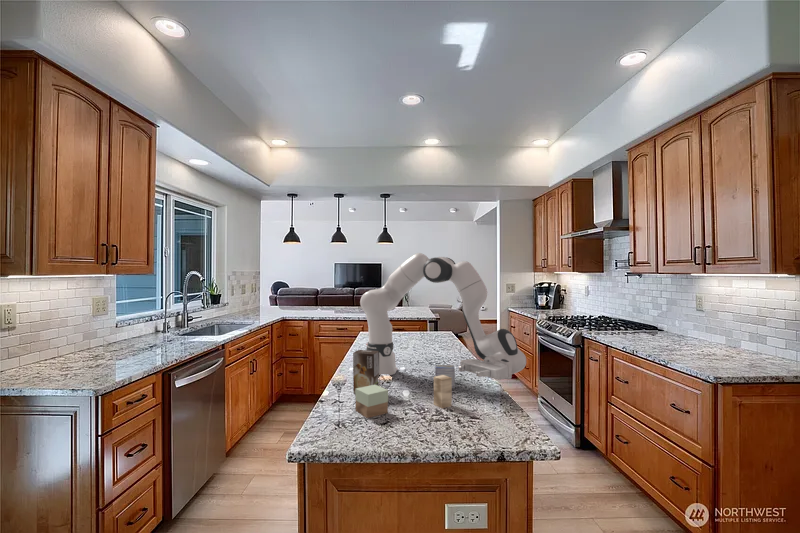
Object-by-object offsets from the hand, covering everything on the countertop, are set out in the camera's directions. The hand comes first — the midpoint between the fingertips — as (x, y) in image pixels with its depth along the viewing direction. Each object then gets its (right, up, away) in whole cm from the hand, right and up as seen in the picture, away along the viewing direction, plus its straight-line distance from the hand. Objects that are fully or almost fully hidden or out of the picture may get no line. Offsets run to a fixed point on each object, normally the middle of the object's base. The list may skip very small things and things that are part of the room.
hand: (468, 371), depth 149 cm
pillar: (-10, -10, -7) cm, 16 cm away
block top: (-35, -6, -13) cm, 38 cm away
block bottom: (-35, -10, -13) cm, 39 cm away
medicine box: (-7, -10, +15) cm, 20 cm away
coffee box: (-39, -10, +8) cm, 41 cm away
